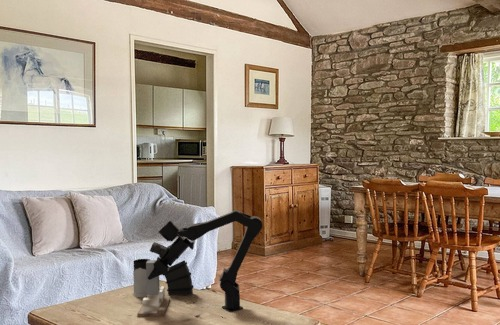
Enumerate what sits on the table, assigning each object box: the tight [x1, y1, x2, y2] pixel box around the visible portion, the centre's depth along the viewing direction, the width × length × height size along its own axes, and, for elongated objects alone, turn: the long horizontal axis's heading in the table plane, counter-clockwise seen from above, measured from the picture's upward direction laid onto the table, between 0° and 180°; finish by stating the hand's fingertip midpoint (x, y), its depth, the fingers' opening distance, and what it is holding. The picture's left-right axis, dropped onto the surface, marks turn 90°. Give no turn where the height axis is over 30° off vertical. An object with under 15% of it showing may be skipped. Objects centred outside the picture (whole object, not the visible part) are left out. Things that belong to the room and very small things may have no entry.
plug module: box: [146, 259, 160, 295], centre depth 194 cm, size 5×4×13 cm
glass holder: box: [132, 258, 151, 298], centre depth 220 cm, size 9×14×15 cm, turn 178°
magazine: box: [162, 260, 194, 296], centre depth 216 cm, size 4×13×15 cm, turn 80°
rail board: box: [136, 285, 171, 318], centre depth 198 cm, size 10×20×6 cm, turn 2°
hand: (149, 277), depth 194 cm, fingers closed on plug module, 4 cm apart
